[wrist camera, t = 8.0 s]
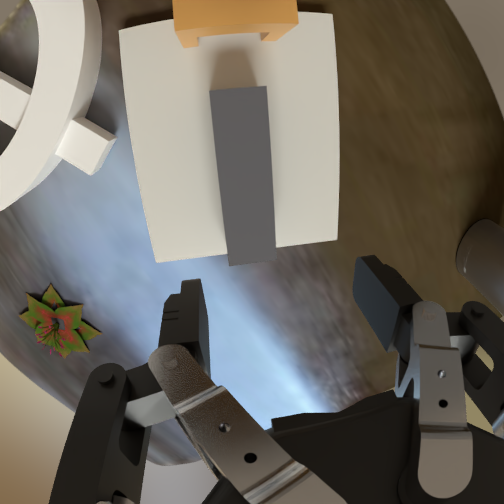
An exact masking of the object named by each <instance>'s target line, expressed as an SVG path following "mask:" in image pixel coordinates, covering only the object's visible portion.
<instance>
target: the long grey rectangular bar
mask: <svg viewBox="0 0 504 504" xmlns="http://www.w3.org/2000/svg"><path fill="white" fill-rule="evenodd" d="M209 95H210V105H211V115H212V125H213V134H214V144H215V153H216V162H217V171H218V180H219V188H220V197H221V205H222V214H223V222H224V230H225V238H226V246H227V254H228V262H229V266H234V265H242V264H250V263H257V262H265V261H272V260H277V256H276V234H275V213H274V194H273V175H272V158H271V142H270V127H269V112H268V98H267V86H256V87H242V88H230V89H220V90H211V91H209Z"/></svg>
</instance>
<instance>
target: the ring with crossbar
mask: <svg viewBox="0 0 504 504" xmlns="http://www.w3.org/2000/svg"><path fill="white" fill-rule="evenodd" d="M29 1H30V2H31V4H32V6H33V8H34V11H35V14H36V18H37V23H38V30H39V56H38V65H37V71H36V77H35V81H34V86H33V89H32V88H30V87H28V86H27V85H25V84H23V83H21V82H19V81H18V80H16V79H14V78H12V77H10V76H8V75H7V74H5V73H3V72H1V71H0V120H1V121H3V122H5V123H6V124H8V125H9V126H11V127H12V128H14V129H16V130H17V131H16V133H15V135H14V137H13V139H12V140H11V142H10V144H9V145H8V147H7V148H6V150H5V151H4V152H3V154H2V155H1V156H0V211H1V210H3V209H5V208H6V207H8V206H9V205H11V204H12V203H13V202H15V201H16V200H17V199H19V198H20V197H22V196H23V195H24V194H26V193H27V192H29V191H30V190H32V189H33V188H34V187H36V186H37V185H38V184H39V183H40V182H42V181H43V180H44V179H45V178H46V177H47V176H48V175H49V174H50V173H51V172H52V171H53V169H54V168H55V167H56V166H57V165H58V163H59V162H60V161H61V159H62V158H63V159H64V160H66V161H68V162H69V163H71V164H73V165H74V166H76V167H77V168H79V169H81V170H82V171H84V172H86V173H87V174H89V175H93V174H94V173H95V172H97V171H98V170H99V169H100V168H101V166H102V164H103V162H104V161H105V159H106V157H107V155H108V153H109V151H110V150H111V148H112V146H113V144H114V142H115V141H116V139H117V137H116V136H115V135H113V134H111V133H110V132H108V131H106V130H104V129H103V128H101V127H99V126H98V125H96V124H94V123H93V122H91V121H89V120H87V119H86V118H85V116H86V114H87V111H88V109H89V106H90V103H91V100H92V97H93V93H94V90H95V86H96V82H97V78H98V73H99V68H100V61H101V52H102V25H101V17H100V11H99V7H98V3H97V1H96V0H29Z"/></svg>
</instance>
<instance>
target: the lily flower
mask: <svg viewBox="0 0 504 504" xmlns="http://www.w3.org/2000/svg"><path fill="white" fill-rule="evenodd" d="M26 295H27V300H28V303H29V304H28V307H29V311H28V312H25V313H23V314H22V315H19V317H21V318H22V319H23V320H24V321H26V323H27V324H28V325H29V326H30V327H32V328H34V329H36V331H35V334H36V337H37V341H38V342H37V343H40V342H41V343H44V344H47V345H51V346H53V347H54V350H56V351H57V352H59V355H60V356H61V357H62V355H63V357H64V358H66V356H67V354H70V352H71V350H73V351H77V352H84V351H86V352H89V350H88V349H87V348H86V346H85V344H84V342H83V340H90V339H92V338H94V337H96V336H97V335H100V334H102V333H100V332H98V331H97V330H95V329H93V328H92V327H90V326H89V325H87V324H86V323H84V322H82V321H81V314H82V311H81V308H82V307H83V304H82V305H77V306H74V307H72V306H69V307H66V306H65V305H64V303H63V301H62V300H61V298H60V297H59V296H58V294H57V293H56V291H55V290H54V289H53V287H52V285H50V287H49V288H48V290H47V292H45V294H44V296H43V298H42V303H40V302H38V301H37V300H35V299H34V298H32V297H31V296H29V295H28V294H27V293H26ZM54 302H55V304H56V305H57V307H58V309H56V310H55V312H54V311H53V310H52V309H51V307H52V305H53V303H54ZM51 317H54V318H60V319H63V320H64V324H65V330H60V329H59V324H58V323H57V322H56V323H55V324H53V325H52V321H51ZM54 326H55V327H54ZM53 327H54V328H53ZM78 327H80V328H81V329H79V330H76V331H75V330H73V329H76V328H78ZM44 344H43V345H44ZM45 346H46V345H45ZM45 346H44V347H45ZM43 349H44V348H43ZM43 349H42V350H43ZM89 353H90V352H89ZM50 355H51V349H50Z"/></svg>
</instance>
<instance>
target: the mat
mask: <svg viewBox="0 0 504 504" xmlns="http://www.w3.org/2000/svg"><path fill="white" fill-rule="evenodd" d="M298 21H299V24H298V25H296V26H295V27H294V28H292V29H291V30H290V31H288V32H287V33H286V34H284V35H283V36H282V37H280V38H279V39H278V40H277V41H261V34H260V33H239V34H225V35H214V36H204V37H198V44H199V46H197V47H190V48H183V46H182V44H181V42H180V40H179V39H178V37H177V35H176V33H175V30H174V19H170V20H164V21H159V22H154V23H149V24H144V25H139V26H135V27H130V28H126V29H122V30H119V39H120V53H121V64H122V75H123V84H124V93H125V101H126V109H127V116H128V124H129V130H130V137H131V143H132V149H133V155H134V161H135V167H136V172H137V178H138V183H139V188H140V193H141V198H142V203H143V208H144V213H145V217H146V222H147V226H148V231H149V235H150V239H151V243H152V248H153V252H154V256H155V260H156V263H159V262H167V261H175V260H183V259H190V258H198V257H206V256H214V255H221V254H227V246H226V238H225V230H224V222H223V214H222V205H221V197H220V188H219V180H218V171H217V162H216V153H215V144H214V134H213V125H212V115H211V105H210V95H209V91H211V90H220V89H230V88H242V87H256V86H267V98H268V112H269V127H270V142H271V158H272V175H273V194H274V213H275V234H276V247H284V246H291V245H299V244H307V243H315V242H323V241H331V240H337V230H338V205H339V105H338V81H337V64H336V50H335V38H334V26H333V16H332V14H325V13H312V12H298Z"/></svg>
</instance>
